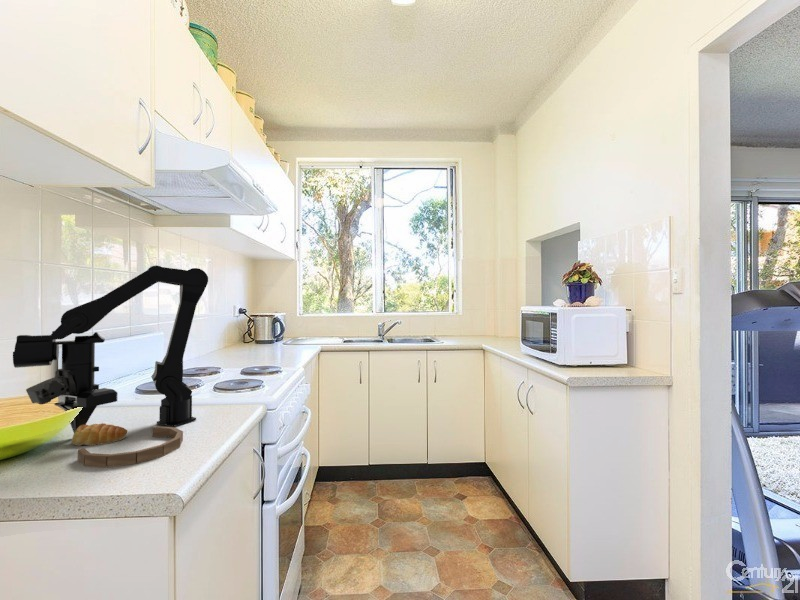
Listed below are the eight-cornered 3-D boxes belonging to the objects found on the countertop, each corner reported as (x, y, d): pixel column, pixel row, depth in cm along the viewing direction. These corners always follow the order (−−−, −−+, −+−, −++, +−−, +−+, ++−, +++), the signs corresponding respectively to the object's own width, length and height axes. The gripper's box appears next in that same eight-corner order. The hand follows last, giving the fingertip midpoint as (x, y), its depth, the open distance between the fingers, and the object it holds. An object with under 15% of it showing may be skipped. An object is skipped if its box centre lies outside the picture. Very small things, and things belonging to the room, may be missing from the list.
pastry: (132, 434, 89) (132, 418, 89) (119, 445, 83) (119, 427, 83) (85, 438, 87) (85, 421, 87) (67, 449, 81) (67, 430, 81)
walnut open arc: (160, 433, 89) (160, 424, 89) (202, 441, 84) (202, 432, 84) (70, 462, 73) (70, 451, 73) (115, 473, 68) (115, 462, 68)
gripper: (9, 366, 83) (8, 439, 83) (59, 371, 76) (58, 451, 76) (70, 359, 94) (69, 424, 93) (119, 363, 86) (118, 434, 86)
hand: (77, 433), depth 87 cm, fingers closed
